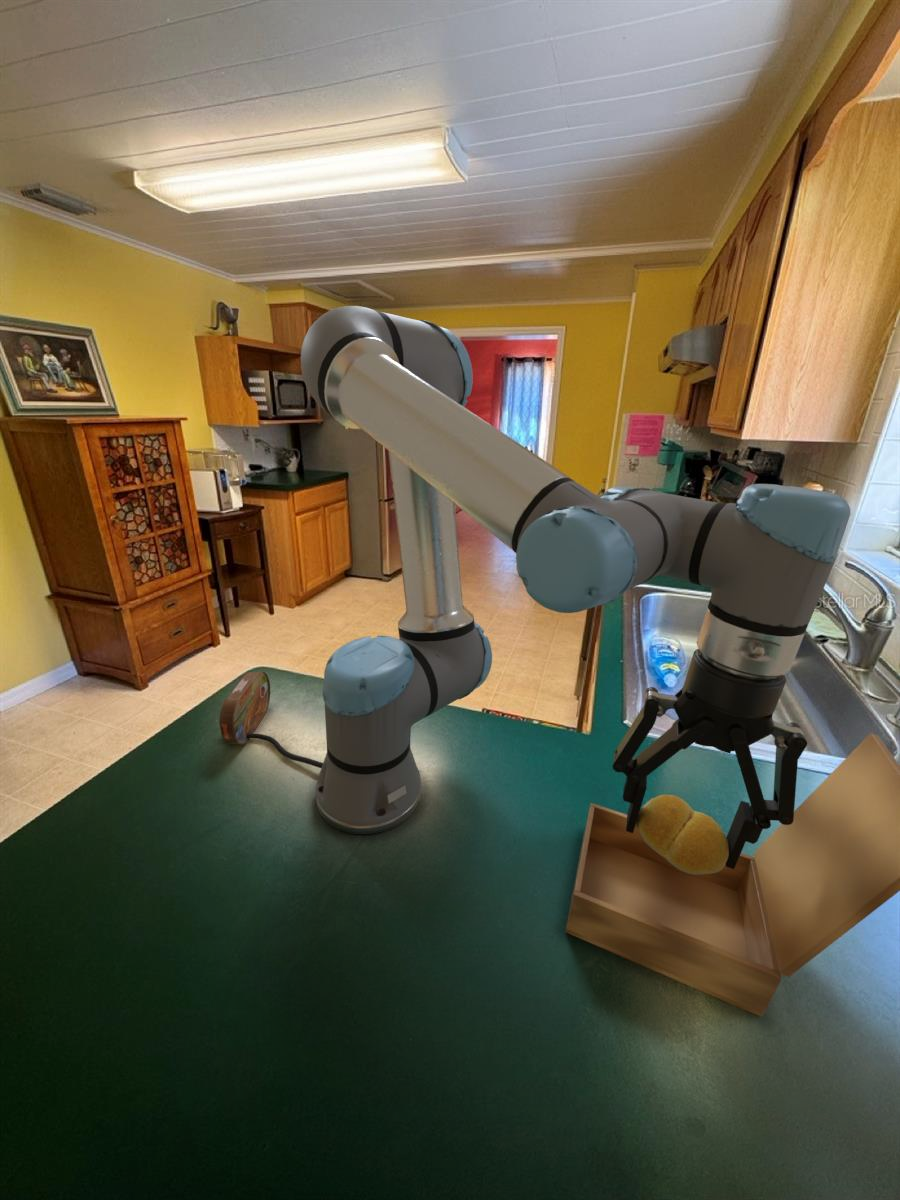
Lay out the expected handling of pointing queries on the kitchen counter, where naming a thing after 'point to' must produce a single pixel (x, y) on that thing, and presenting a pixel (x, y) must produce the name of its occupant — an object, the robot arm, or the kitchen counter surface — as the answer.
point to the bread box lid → (833, 856)
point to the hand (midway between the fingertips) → (677, 839)
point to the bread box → (674, 914)
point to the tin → (244, 707)
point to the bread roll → (683, 835)
